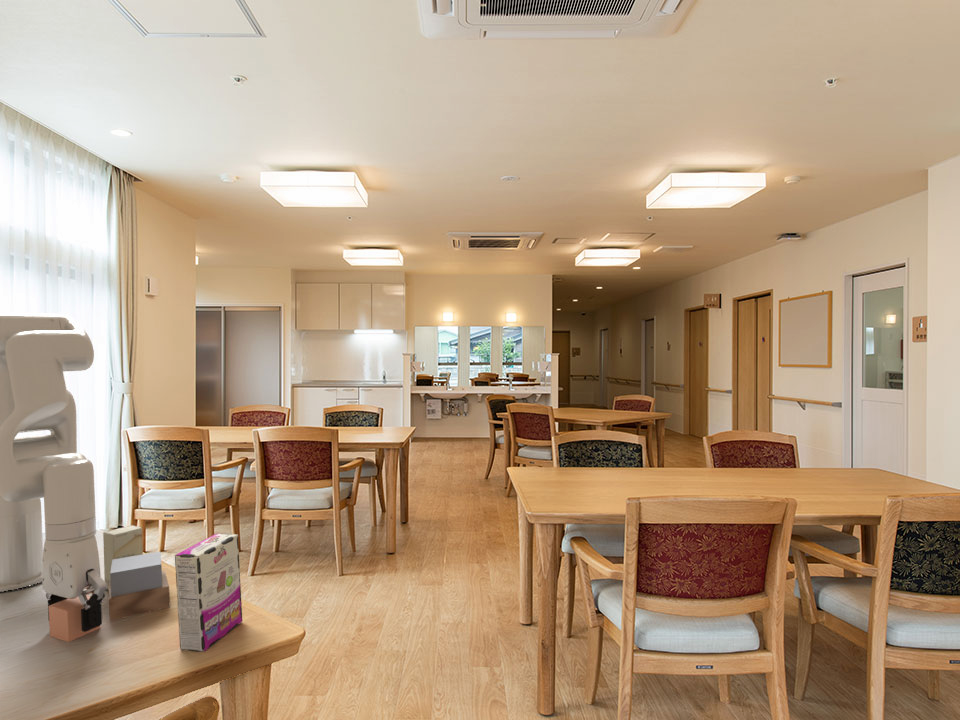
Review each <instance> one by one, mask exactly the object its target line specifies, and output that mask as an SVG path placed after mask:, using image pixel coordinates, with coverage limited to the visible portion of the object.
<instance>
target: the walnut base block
mask: <svg viewBox="0 0 960 720" xmlns="http://www.w3.org/2000/svg"><path fill="white" fill-rule="evenodd" d="M169 585H170V584H169V581H168V578H167V575H166V571H165V570H162V587H160V588H155V589H149V590H144V591H139V592H134V593H129V594H124V595H119V596H114V597H111V581H110V582H109V590H108V608H109V610H108V611H109V621H114V620H120V619H123V618H128V617H133V616H137V614H138V615H141V614H146V613H149V611H151V612H155V611H159V610H158V609H160V610H162V609H163V608H164V609H168V608H171V603H170V602H171V601H170V586H169ZM154 610H155V611H154ZM145 612H146V613H145Z"/></svg>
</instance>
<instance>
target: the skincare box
mask: <svg viewBox="0 0 960 720" xmlns="http://www.w3.org/2000/svg"><path fill="white" fill-rule="evenodd" d="M102 537H103V567H104V568H103V569H104V570H103V571H104V581H105V582H106V584H107V588H106V590H108V591H109V582H110V581H111V579H110V572H111V565H112V560H113V559H119V558H125V557H131V556H137V555H143V554H144V553H143V552H144V551H143V550H144V548H143V545H144V543H143V528H142V527H140V526H136V525H133V524H131V525H128V526H127V525H126V526H124V527H118V528H116V529H112V530H108V531H103V532H102Z"/></svg>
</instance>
